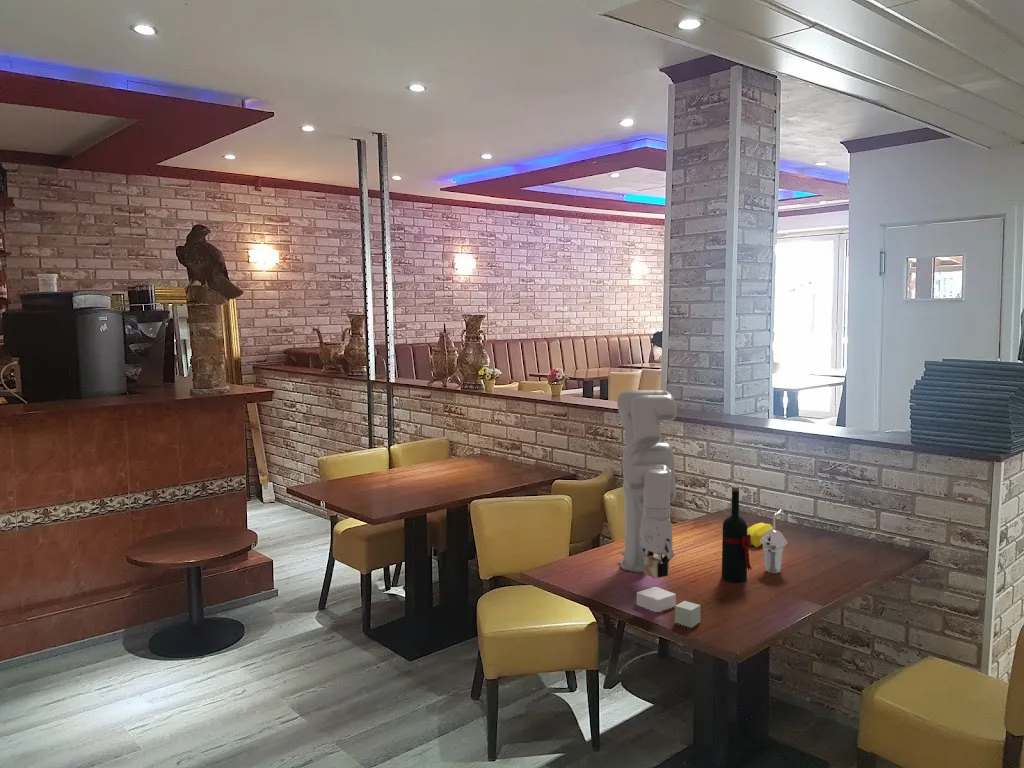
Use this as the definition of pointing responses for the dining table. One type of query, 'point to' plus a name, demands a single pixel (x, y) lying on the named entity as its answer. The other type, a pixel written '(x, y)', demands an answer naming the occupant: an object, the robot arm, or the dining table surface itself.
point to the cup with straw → (773, 548)
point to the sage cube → (687, 614)
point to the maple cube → (652, 566)
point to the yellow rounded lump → (758, 532)
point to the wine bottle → (735, 545)
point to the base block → (656, 599)
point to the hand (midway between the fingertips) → (656, 572)
